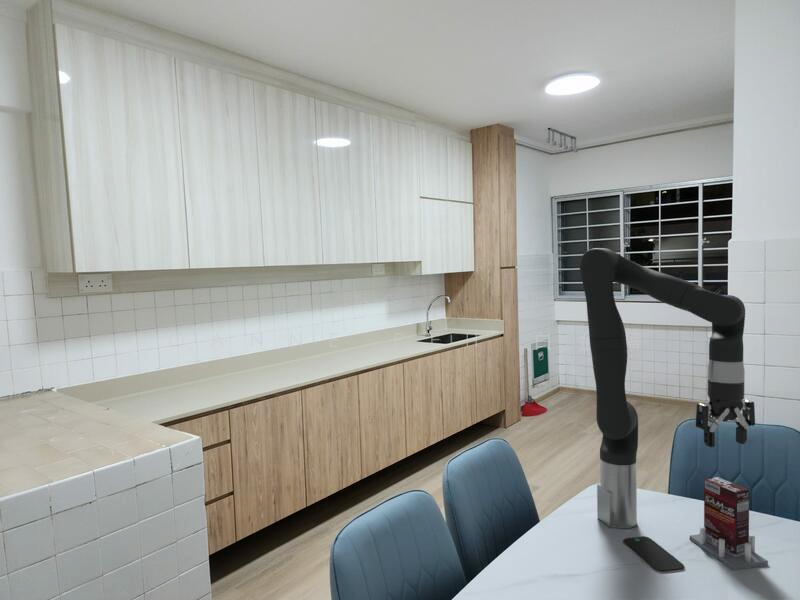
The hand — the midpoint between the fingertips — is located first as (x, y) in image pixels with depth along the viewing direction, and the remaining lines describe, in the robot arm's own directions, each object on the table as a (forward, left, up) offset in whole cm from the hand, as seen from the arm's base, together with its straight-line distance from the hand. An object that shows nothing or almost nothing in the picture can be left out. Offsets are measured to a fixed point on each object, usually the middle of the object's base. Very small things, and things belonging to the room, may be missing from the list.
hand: (725, 444), depth 126 cm
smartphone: (-18, +2, -27) cm, 32 cm away
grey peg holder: (0, -1, -26) cm, 26 cm away
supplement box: (0, -1, -25) cm, 25 cm away
